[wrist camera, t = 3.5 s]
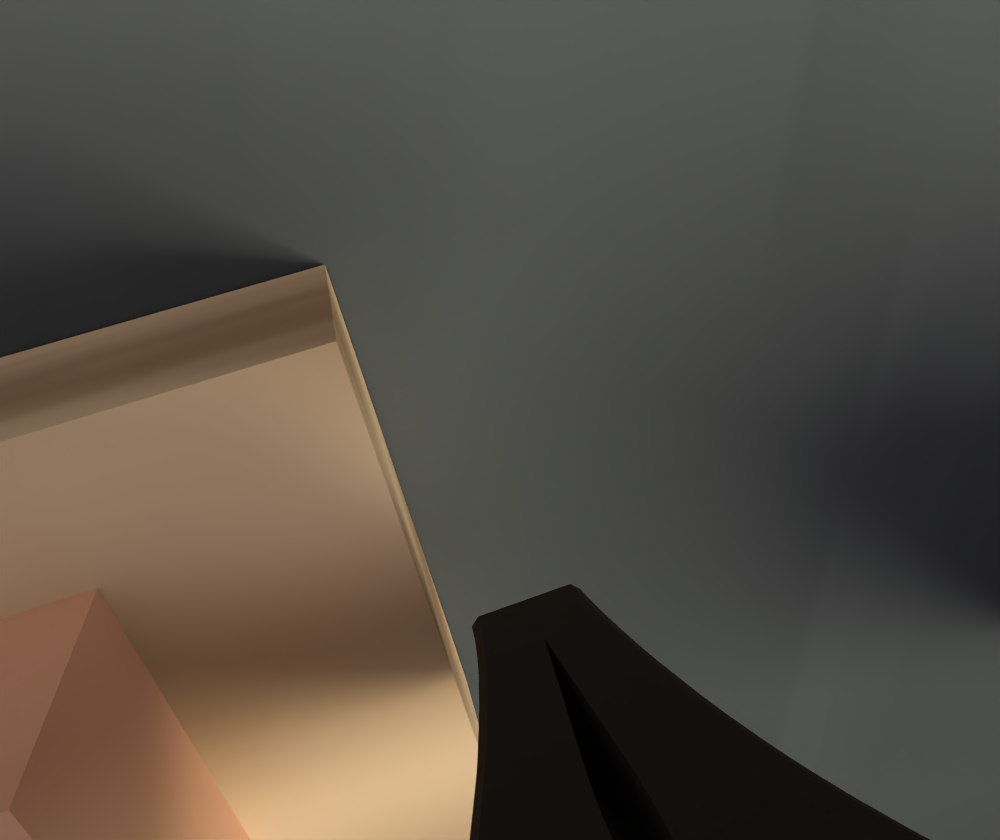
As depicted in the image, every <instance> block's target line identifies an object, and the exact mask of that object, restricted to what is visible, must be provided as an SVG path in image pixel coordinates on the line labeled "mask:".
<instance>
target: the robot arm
mask: <svg viewBox="0 0 1000 840" xmlns="http://www.w3.org/2000/svg"><path fill="white" fill-rule="evenodd" d="M472 629H473V633H474V637H475V642H476V650H477V657H478V670H479V733H478V758H477V773H476V784H475V794H474V803H473V812H472V822H471V831H470V840H930V839H928V838H926V837H924V836H922V835H920V834H918V833H916V832H914V831H913V830H911V829H909V828H907V827H905V826H904V825H902V824H900V823H898V822H897V821H895V820H893V819H891V818H890V817H888V816H886V815H884V814H883V813H881V812H879V811H877V810H876V809H874V808H872V807H870V806H869V805H867V804H865V803H863V802H862V801H860V800H858V799H856V798H854V797H853V796H851V795H850V794H848V793H846V792H845V791H843V790H841V789H840V788H838V787H836V786H835V785H833V784H831V783H830V782H828V781H827V780H825V779H823V778H822V777H820V776H818V775H817V774H815V773H813V772H812V771H810V770H809V769H807V768H805V767H804V766H802V765H801V764H799V763H798V762H796V761H794V760H793V759H791V758H790V757H788V756H787V755H785V754H784V753H782V752H781V751H779V750H778V749H776V748H775V747H773V746H772V745H770V744H769V743H767V742H766V741H764V740H763V739H761V738H760V737H758V736H757V735H756V734H754V733H753V732H751V731H750V730H748V729H747V728H746V727H744V726H743V725H741V724H740V723H739V722H737V721H736V720H734V719H733V718H731V717H730V716H729V715H727V714H726V713H724V712H723V711H722V710H720V709H719V708H718V707H716V706H715V705H714V704H712V703H711V702H710V701H708V700H707V699H705V698H704V697H703V696H701V695H700V694H699V693H698V692H696V691H695V690H694V689H692V688H691V687H690V686H689V685H687V684H686V683H685V682H684V681H682V680H681V679H680V678H679V677H677V676H676V675H675V674H673V673H672V672H671V671H670V670H668V669H667V668H666V667H665V666H663V665H662V664H661V663H660V662H658V661H657V660H656V659H655V658H654V657H652V656H651V655H650V654H649V653H648V652H646V651H645V650H644V649H643V648H642V647H640V646H639V645H638V644H637V643H636V642H635V641H634V640H633V639H631V638H630V637H629V636H628V635H627V634H626V633H625V632H623V631H622V630H621V629H620V628H619V627H618V626H617V625H616V624H615V623H614V622H613V621H611V620H610V619H609V618H608V617H607V616H606V615H605V614H604V613H603V612H602V611H601V610H600V609H599V608H598V607H597V606H596V605H595V604H594V603H593V602H592V601H591V600H590V599H589V598H588V597H587V596H586V595H585V594H584V593H583V592H582V591H581V589H579V588H577V587H575V586H573V585H571V584H569V585H566V586H564V587H561V588H558V589H555V590H552V591H549V592H547V593H544V594H541V595H538V596H535V597H533V598H530V599H527V600H524V601H521V602H518V603H516V604H513V605H510V606H507V607H504V608H501V609H499V610H496V611H493V612H490V613H487V614H485V615H482V616H479V617H478V618H477V620H476V621H475V623H474V624H473V626H472Z"/></svg>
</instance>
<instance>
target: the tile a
mask: <svg viewBox="0 0 1000 840" xmlns="http://www.w3.org/2000/svg"><path fill="white" fill-rule="evenodd" d="M0 840H250V839H249V837H248V835H247V834H246V832H245V830H244V829H243V827H242V825H241V824H240V822H239V820H238V819H237V817H236V815H235V814H234V812H233V811H232V809H231V807H230V806H229V804H228V802H227V801H226V799H225V797H224V796H223V794H222V792H221V791H220V789H219V787H218V786H217V784H216V782H215V781H214V779H213V777H212V776H211V774H210V772H209V771H208V769H207V767H206V766H205V764H204V762H203V761H202V759H201V757H200V756H199V754H198V753H197V751H196V749H195V748H194V746H193V744H192V743H191V741H190V739H189V738H188V736H187V734H186V733H185V731H184V729H183V728H182V726H181V724H180V723H179V721H178V719H177V718H176V716H175V714H174V713H173V711H172V709H171V708H170V706H169V704H168V703H167V701H166V700H165V698H164V696H163V695H162V693H161V691H160V690H159V688H158V686H157V685H156V683H155V681H154V680H153V678H152V676H151V675H150V673H149V671H148V670H147V668H146V666H145V665H144V663H143V661H142V660H141V658H140V656H139V655H138V653H137V651H136V650H135V648H134V646H133V645H132V643H131V642H130V640H129V638H128V637H127V635H126V633H125V632H124V630H123V628H122V627H121V625H120V623H119V622H118V620H117V618H116V617H115V615H114V613H113V612H112V610H111V608H110V607H109V605H108V603H107V602H106V600H105V598H104V597H103V595H102V593H101V592H100V590H99V588H95V589H92V590H88V591H85V592H82V593H79V594H76V595H73V596H70V597H67V598H64V599H61V600H58V601H55V602H52V603H49V604H46V605H43V606H40V607H37V608H34V609H31V610H28V611H24V612H21V613H18V614H15V615H12V616H9V617H6V618H3V619H0Z"/></svg>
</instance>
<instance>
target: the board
mask: <svg viewBox="0 0 1000 840" xmlns="http://www.w3.org/2000/svg"><path fill="white" fill-rule="evenodd" d="M95 588H99V590H100V592H101V593H102V595H103V597H104V598H105V600H106V602H107V603H108V605H109V607H110V608H111V610H112V612H113V613H114V615H115V617H116V618H117V620H118V622H119V623H120V625H121V627H122V628H123V630H124V632H125V633H126V635H127V637H128V638H129V640H130V642H131V643H132V645H133V646H134V648H135V650H136V651H137V653H138V655H139V656H140V658H141V660H142V661H143V663H144V665H145V666H146V668H147V670H148V671H149V673H150V675H151V676H152V678H153V680H154V681H155V683H156V685H157V686H158V688H159V690H160V691H161V693H162V695H163V696H164V698H165V700H166V701H167V703H168V704H169V706H170V708H171V709H172V711H173V713H174V714H175V716H176V718H177V719H178V721H179V723H180V724H181V726H182V728H183V729H184V731H185V733H186V734H187V736H188V738H189V739H190V741H191V743H192V744H193V746H194V748H195V749H196V751H197V753H198V754H199V756H200V757H201V759H202V761H203V762H204V764H205V766H206V767H207V769H208V771H209V772H210V774H211V776H212V777H213V779H214V781H215V782H216V784H217V786H218V787H219V789H220V791H221V792H222V794H223V796H224V797H225V799H226V801H227V802H228V804H229V806H230V807H231V809H232V811H233V812H234V814H235V815H236V817H237V819H238V820H239V822H240V824H241V825H242V827H243V829H244V830H245V832H246V834H247V835H248V837H249V839H250V840H470V831H471V822H472V812H473V803H474V794H475V784H476V773H477V758H478V733H479V724H478V720H477V717H476V713H475V710H474V706H473V703H472V699H471V696H470V692H469V689H468V685H467V682H466V678H465V674H464V672H463V669H462V666H461V663H460V660H459V657H458V654H457V651H456V648H455V645H454V642H453V639H452V636H451V633H450V630H449V628H448V625H447V622H446V619H445V616H444V613H443V610H442V607H441V604H440V601H439V598H438V595H437V592H436V589H435V586H434V584H433V581H432V578H431V575H430V572H429V569H428V566H427V563H426V560H425V557H424V554H423V551H422V548H421V545H420V542H419V540H418V537H417V534H416V531H415V528H414V525H413V522H412V519H411V516H410V513H409V510H408V507H407V504H406V501H405V498H404V496H403V493H402V490H401V487H400V484H399V481H398V478H397V475H396V472H395V469H394V466H393V463H392V460H391V457H390V454H389V452H388V449H387V446H386V443H385V440H384V437H383V434H382V431H381V428H380V425H379V422H378V419H377V416H376V413H375V410H374V408H373V405H372V402H371V399H370V396H369V393H368V390H367V387H366V384H365V381H364V378H363V375H362V372H361V369H360V366H359V364H358V361H357V358H356V355H355V352H354V349H353V346H352V343H351V340H350V337H349V334H348V331H347V328H346V325H345V322H344V320H343V317H342V314H341V311H340V308H339V305H338V302H337V299H336V296H335V293H334V290H333V287H332V284H331V281H330V278H329V276H328V273H327V270H326V267H325V265H321V266H318V267H314V268H311V269H307V270H304V271H301V272H297V273H294V274H290V275H287V276H283V277H280V278H276V279H273V280H269V281H266V282H262V283H259V284H255V285H252V286H248V287H245V288H241V289H238V290H234V291H231V292H227V293H224V294H220V295H217V296H213V297H210V298H206V299H203V300H199V301H196V302H192V303H189V304H186V305H182V306H179V307H175V308H172V309H168V310H165V311H161V312H158V313H154V314H151V315H147V316H144V317H140V318H137V319H133V320H130V321H126V322H123V323H119V324H116V325H112V326H109V327H105V328H102V329H98V330H95V331H91V332H88V333H84V334H81V335H77V336H74V337H71V338H67V339H64V340H60V341H57V342H53V343H50V344H46V345H43V346H39V347H36V348H32V349H29V350H25V351H22V352H18V353H15V354H11V355H8V356H4V357H1V358H0V619H3V618H6V617H9V616H12V615H15V614H18V613H21V612H24V611H28V610H31V609H34V608H37V607H40V606H43V605H46V604H49V603H52V602H55V601H58V600H61V599H64V598H67V597H70V596H73V595H76V594H79V593H82V592H85V591H88V590H92V589H95Z"/></svg>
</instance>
